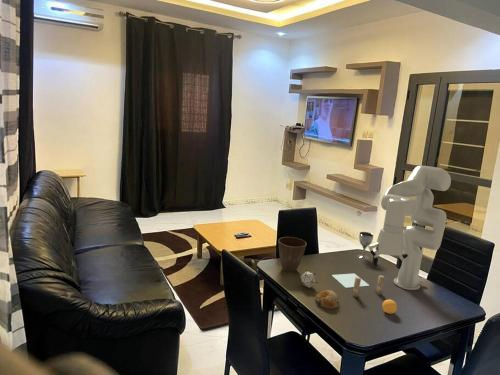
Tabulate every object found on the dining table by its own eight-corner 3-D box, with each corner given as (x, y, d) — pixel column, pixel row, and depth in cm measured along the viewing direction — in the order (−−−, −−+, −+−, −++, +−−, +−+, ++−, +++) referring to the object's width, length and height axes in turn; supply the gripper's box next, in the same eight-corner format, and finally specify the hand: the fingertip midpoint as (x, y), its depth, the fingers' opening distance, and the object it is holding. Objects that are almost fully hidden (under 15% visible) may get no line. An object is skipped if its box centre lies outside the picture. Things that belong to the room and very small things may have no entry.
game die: (305, 295, 180) (300, 284, 174) (299, 282, 187) (294, 271, 181) (322, 288, 180) (317, 276, 174) (315, 275, 187) (310, 263, 181)
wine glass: (361, 253, 231) (364, 231, 227) (372, 258, 225) (376, 234, 222) (353, 256, 226) (357, 233, 222) (364, 261, 220) (368, 237, 216)
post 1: (356, 294, 178) (358, 277, 176) (359, 297, 175) (361, 279, 173) (351, 294, 177) (354, 277, 175) (354, 297, 175) (357, 279, 173)
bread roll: (333, 318, 163) (343, 304, 160) (313, 305, 163) (322, 291, 161) (332, 306, 172) (342, 293, 170) (313, 294, 173) (323, 281, 171)
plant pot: (286, 261, 210) (289, 234, 207) (308, 270, 201) (311, 242, 197) (270, 268, 199) (272, 240, 195) (293, 278, 189) (296, 249, 186)
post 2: (379, 292, 182) (382, 275, 180) (382, 294, 179) (385, 277, 177) (374, 292, 181) (377, 275, 179) (378, 295, 179) (380, 278, 177)
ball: (389, 308, 167) (391, 296, 166) (398, 315, 161) (400, 303, 160) (378, 309, 165) (380, 297, 164) (387, 317, 160) (389, 304, 158)
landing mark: (354, 273, 201) (354, 273, 201) (369, 285, 188) (369, 285, 188) (331, 275, 196) (331, 275, 196) (345, 287, 184) (345, 287, 183)
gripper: (410, 227, 157) (404, 265, 160) (369, 223, 157) (363, 261, 161) (417, 233, 149) (410, 272, 153) (374, 229, 150) (367, 268, 154)
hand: (386, 266), depth 157 cm, fingers open, 9 cm apart
